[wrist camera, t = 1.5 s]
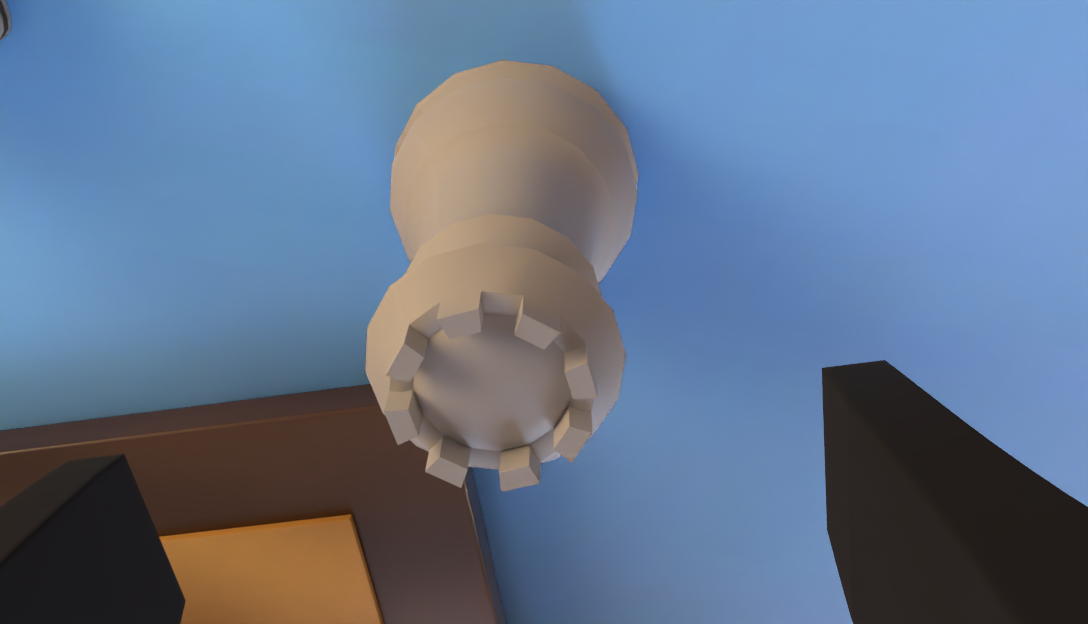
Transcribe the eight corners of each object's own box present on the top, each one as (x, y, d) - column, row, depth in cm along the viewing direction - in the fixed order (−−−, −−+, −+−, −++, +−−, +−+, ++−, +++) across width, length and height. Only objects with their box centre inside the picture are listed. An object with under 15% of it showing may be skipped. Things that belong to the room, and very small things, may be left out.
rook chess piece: (348, 186, 20) (225, 421, 12) (498, -1, 18) (456, 145, 11) (530, 324, 21) (515, 609, 14) (687, 161, 19) (762, 387, 12)
